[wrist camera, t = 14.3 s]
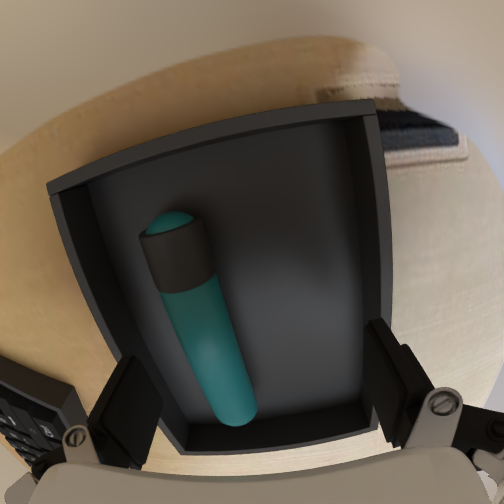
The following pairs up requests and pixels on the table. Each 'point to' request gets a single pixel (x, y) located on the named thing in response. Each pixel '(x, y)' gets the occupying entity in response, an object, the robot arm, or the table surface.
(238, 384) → the marker pen
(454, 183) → the table surface
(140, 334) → the black tray
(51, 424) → the computer keyboard
